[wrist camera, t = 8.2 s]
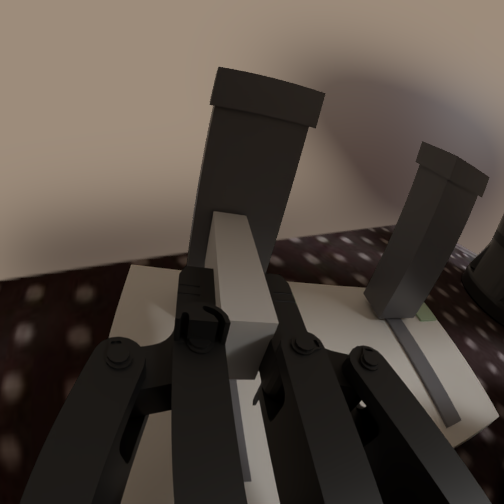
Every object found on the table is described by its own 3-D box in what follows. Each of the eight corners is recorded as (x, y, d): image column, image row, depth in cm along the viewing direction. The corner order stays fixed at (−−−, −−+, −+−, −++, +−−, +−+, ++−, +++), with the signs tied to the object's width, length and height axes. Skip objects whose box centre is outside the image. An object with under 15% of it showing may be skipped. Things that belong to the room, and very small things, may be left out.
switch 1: (246, 287, 19) (299, 91, 13) (254, 326, 16) (325, 93, 10) (181, 280, 18) (216, 72, 12) (178, 319, 15) (218, 66, 9)
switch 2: (397, 293, 23) (457, 160, 17) (416, 320, 20) (489, 177, 14) (359, 290, 22) (422, 141, 16) (378, 321, 19) (457, 156, 13)
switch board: (405, 305, 26) (415, 289, 25) (482, 430, 13) (501, 414, 12) (131, 285, 20) (131, 262, 19) (94, 504, 7) (80, 498, 6)
